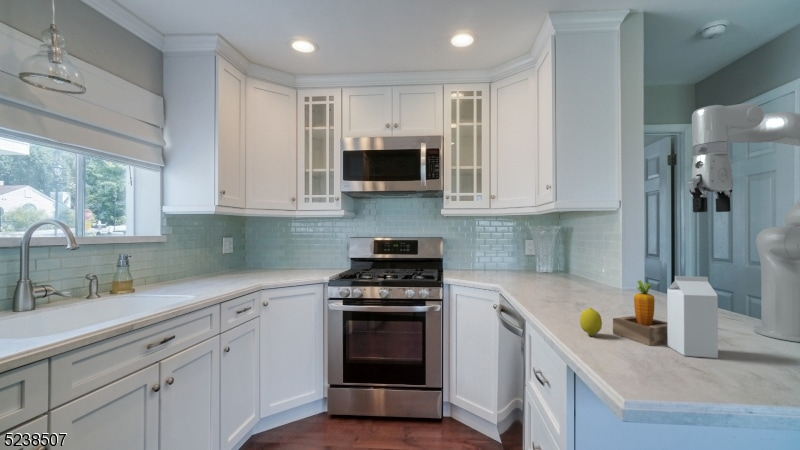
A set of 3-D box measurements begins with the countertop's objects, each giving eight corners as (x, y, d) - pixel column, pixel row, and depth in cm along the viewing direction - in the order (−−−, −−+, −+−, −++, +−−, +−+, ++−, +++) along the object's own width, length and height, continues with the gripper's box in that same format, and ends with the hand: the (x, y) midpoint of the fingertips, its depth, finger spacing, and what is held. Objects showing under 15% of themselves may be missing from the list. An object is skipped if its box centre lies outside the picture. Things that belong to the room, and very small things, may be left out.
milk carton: (718, 358, 81) (717, 279, 81) (684, 356, 82) (683, 278, 83) (698, 348, 88) (698, 274, 88) (667, 346, 89) (667, 274, 90)
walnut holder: (639, 330, 103) (639, 315, 103) (677, 341, 93) (677, 325, 93) (612, 333, 100) (612, 318, 100) (649, 345, 90) (649, 328, 90)
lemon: (602, 334, 99) (602, 307, 99) (601, 340, 94) (601, 311, 94) (580, 331, 102) (580, 304, 102) (579, 336, 97) (578, 308, 97)
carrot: (658, 337, 94) (657, 282, 94) (637, 335, 95) (636, 282, 95) (651, 331, 98) (650, 279, 98) (631, 330, 100) (630, 279, 100)
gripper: (705, 146, 90) (706, 211, 90) (746, 149, 95) (748, 211, 95) (674, 152, 97) (676, 213, 97) (714, 155, 102) (716, 212, 102)
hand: (711, 212), depth 96 cm, fingers open, 9 cm apart
